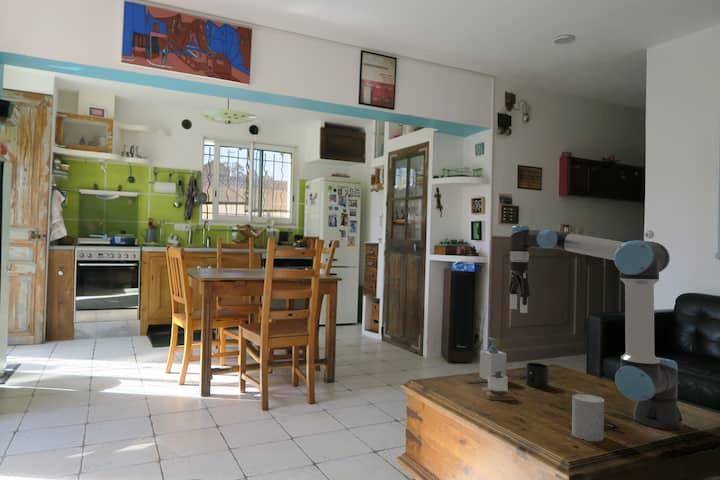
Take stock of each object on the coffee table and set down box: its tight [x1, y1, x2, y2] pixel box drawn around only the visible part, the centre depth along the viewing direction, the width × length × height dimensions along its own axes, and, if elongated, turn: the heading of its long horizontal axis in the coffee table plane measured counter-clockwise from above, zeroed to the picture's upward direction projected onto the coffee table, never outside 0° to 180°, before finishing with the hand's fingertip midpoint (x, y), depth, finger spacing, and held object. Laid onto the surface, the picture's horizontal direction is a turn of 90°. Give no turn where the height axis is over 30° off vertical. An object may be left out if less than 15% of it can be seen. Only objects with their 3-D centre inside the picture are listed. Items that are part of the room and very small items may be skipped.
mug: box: [525, 362, 550, 389], centre depth 211 cm, size 9×12×9 cm
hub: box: [487, 374, 509, 391], centre depth 194 cm, size 7×7×5 cm
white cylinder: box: [571, 392, 606, 442], centre depth 153 cm, size 10×10×12 cm
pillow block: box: [481, 371, 515, 401], centre depth 194 cm, size 12×10×10 cm
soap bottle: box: [479, 336, 507, 382], centre depth 220 cm, size 9×9×19 cm
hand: (518, 310), depth 201 cm, fingers open, 13 cm apart
